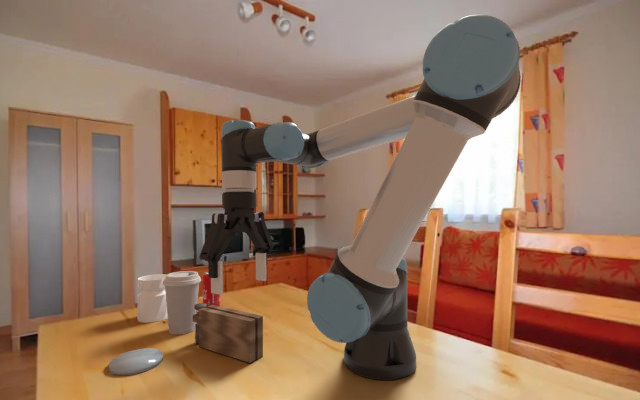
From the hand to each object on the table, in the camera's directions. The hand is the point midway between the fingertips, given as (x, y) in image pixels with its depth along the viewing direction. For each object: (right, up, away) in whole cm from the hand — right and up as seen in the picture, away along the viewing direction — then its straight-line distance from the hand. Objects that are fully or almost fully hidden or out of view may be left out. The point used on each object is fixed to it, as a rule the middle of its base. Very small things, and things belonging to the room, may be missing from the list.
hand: (240, 286), depth 75 cm
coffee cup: (-19, -16, +15) cm, 29 cm away
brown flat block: (-4, -15, +3) cm, 16 cm away
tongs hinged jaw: (-5, -15, +1) cm, 16 cm away
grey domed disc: (-21, -15, -4) cm, 27 cm away
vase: (-32, -16, +25) cm, 44 cm away
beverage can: (-17, -16, +31) cm, 39 cm away
